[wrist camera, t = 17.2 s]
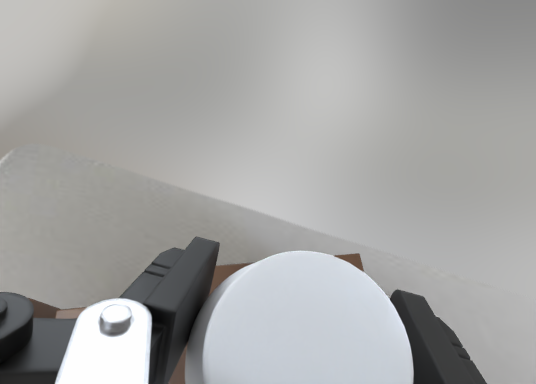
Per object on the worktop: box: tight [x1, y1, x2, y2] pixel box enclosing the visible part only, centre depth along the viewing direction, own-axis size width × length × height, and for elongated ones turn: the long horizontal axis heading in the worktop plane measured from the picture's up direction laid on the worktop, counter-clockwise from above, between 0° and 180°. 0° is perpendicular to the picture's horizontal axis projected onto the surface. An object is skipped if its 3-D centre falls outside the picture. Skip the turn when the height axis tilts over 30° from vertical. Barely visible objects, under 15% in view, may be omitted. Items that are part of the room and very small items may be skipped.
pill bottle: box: [185, 251, 414, 384], centre depth 11 cm, size 5×5×10 cm
